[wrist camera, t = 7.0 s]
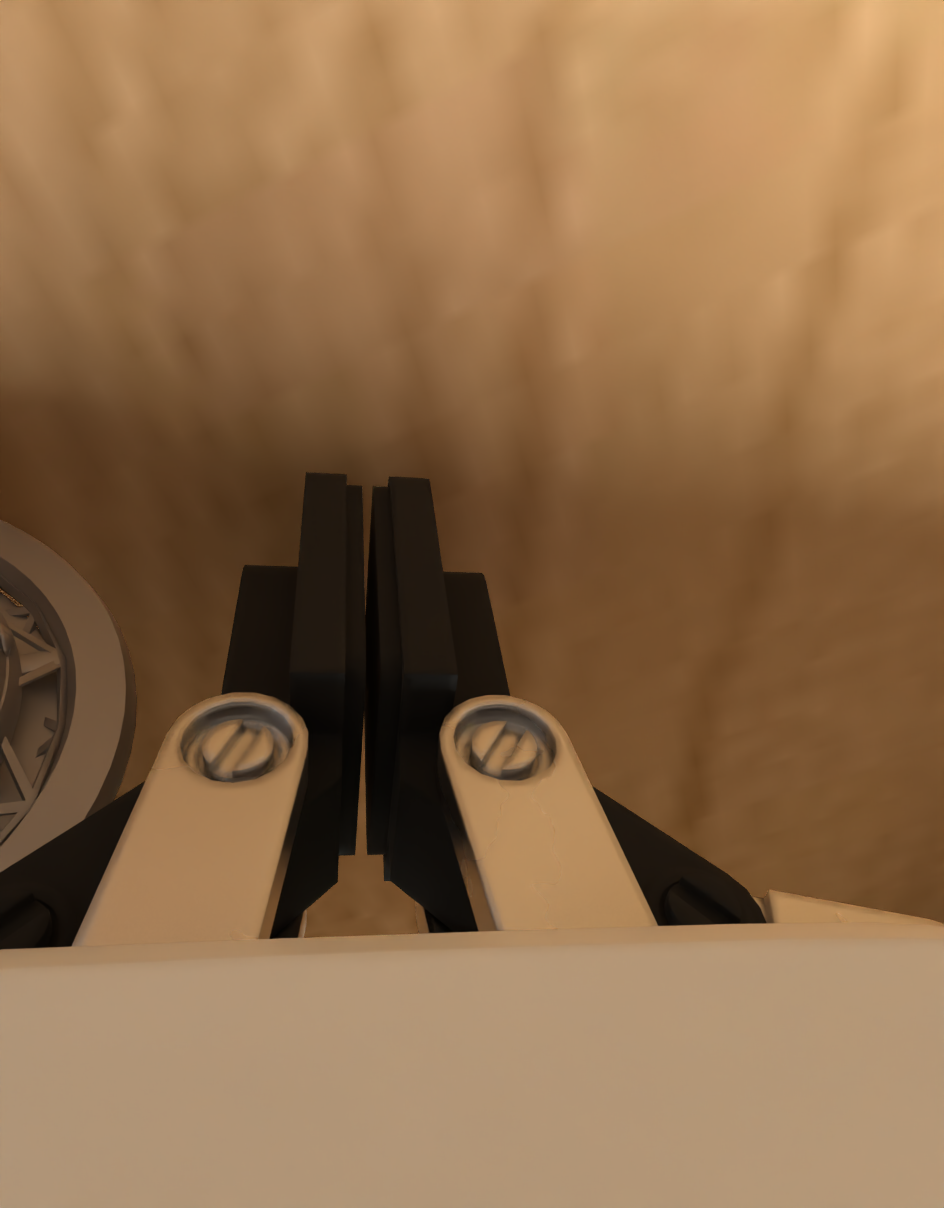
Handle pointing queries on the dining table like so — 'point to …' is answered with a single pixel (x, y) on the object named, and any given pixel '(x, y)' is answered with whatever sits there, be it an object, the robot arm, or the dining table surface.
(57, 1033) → the robot arm
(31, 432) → the dining table surface
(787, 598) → the dining table surface
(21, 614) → the spaceship
